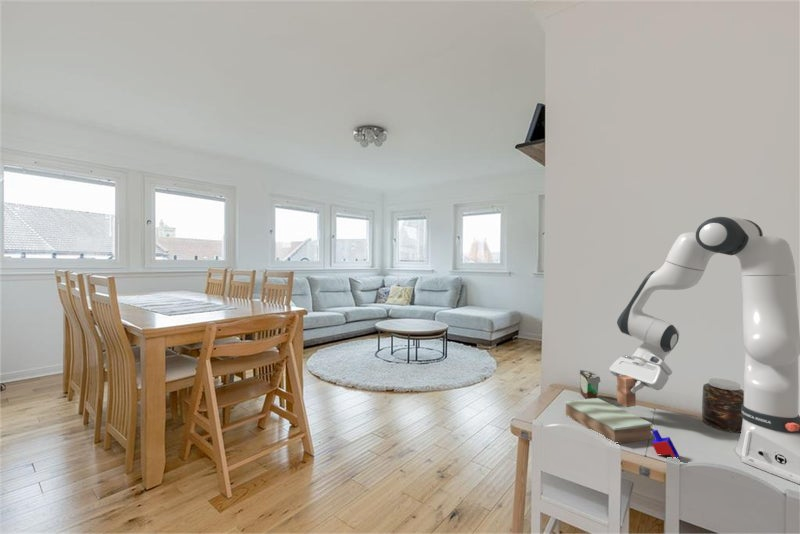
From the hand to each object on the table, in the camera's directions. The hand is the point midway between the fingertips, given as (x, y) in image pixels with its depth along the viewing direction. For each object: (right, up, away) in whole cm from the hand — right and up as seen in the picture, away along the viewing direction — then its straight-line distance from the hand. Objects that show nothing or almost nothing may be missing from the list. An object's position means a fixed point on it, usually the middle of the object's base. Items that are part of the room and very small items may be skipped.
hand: (624, 389), depth 134 cm
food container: (-2, -10, +19) cm, 21 cm away
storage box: (-11, -10, -7) cm, 17 cm away
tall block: (+1, -5, 0) cm, 5 cm away
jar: (+31, -11, -6) cm, 33 cm away
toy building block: (-4, -11, -26) cm, 29 cm away
